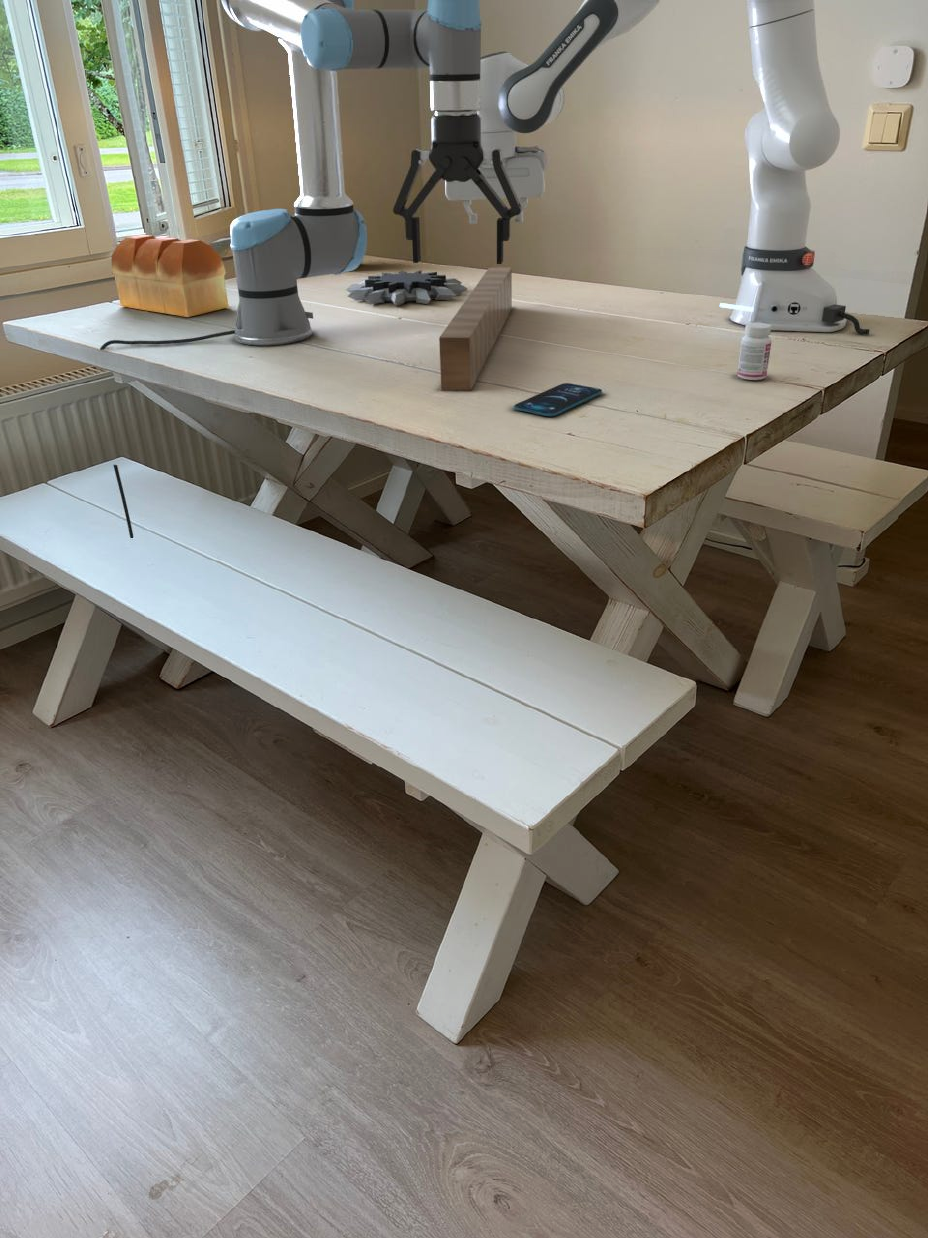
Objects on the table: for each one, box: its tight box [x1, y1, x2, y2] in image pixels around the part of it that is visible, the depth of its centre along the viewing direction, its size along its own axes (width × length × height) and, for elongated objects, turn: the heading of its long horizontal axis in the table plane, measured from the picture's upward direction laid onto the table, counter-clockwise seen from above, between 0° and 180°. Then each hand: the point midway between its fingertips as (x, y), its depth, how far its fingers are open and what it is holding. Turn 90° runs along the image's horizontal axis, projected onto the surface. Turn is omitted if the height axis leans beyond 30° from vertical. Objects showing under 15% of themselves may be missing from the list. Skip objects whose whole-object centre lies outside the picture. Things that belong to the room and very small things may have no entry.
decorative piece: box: [345, 269, 468, 307], centre depth 224 cm, size 30×4×30 cm
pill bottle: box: [737, 323, 772, 381], centre depth 155 cm, size 5×5×8 cm
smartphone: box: [513, 382, 603, 417], centre depth 148 cm, size 8×1×15 cm
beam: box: [438, 266, 513, 392], centre depth 180 cm, size 64×5×9 cm, turn 171°
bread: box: [111, 234, 230, 318], centre depth 216 cm, size 25×12×15 cm, turn 54°
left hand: (458, 262), depth 153 cm, fingers open, 13 cm apart
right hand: (496, 222), depth 194 cm, fingers open, 8 cm apart
